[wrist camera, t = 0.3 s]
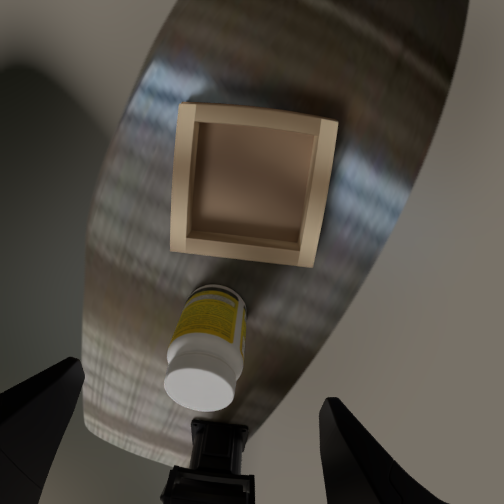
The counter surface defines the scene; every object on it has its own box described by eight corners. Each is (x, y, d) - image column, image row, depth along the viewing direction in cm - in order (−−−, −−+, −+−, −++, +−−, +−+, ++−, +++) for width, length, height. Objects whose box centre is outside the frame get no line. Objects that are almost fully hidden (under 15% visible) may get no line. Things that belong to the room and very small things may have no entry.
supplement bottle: (175, 298, 22) (139, 375, 14) (225, 272, 21) (207, 350, 13) (209, 341, 23) (191, 421, 15) (258, 319, 22) (257, 404, 14)
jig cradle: (310, 258, 20) (316, 272, 18) (175, 242, 20) (165, 254, 18) (333, 120, 16) (344, 118, 14) (184, 103, 16) (174, 98, 14)
